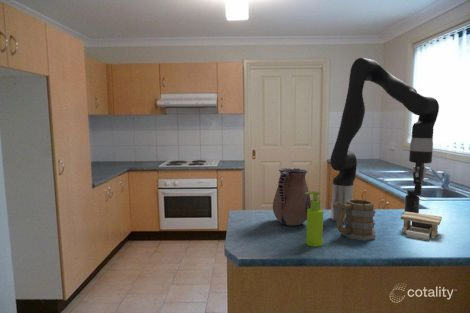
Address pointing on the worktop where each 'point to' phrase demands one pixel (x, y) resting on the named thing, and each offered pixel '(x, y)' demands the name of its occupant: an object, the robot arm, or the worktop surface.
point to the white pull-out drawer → (418, 233)
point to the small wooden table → (421, 221)
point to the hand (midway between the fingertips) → (417, 194)
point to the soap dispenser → (314, 222)
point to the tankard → (356, 219)
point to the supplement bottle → (411, 202)
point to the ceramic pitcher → (291, 197)
